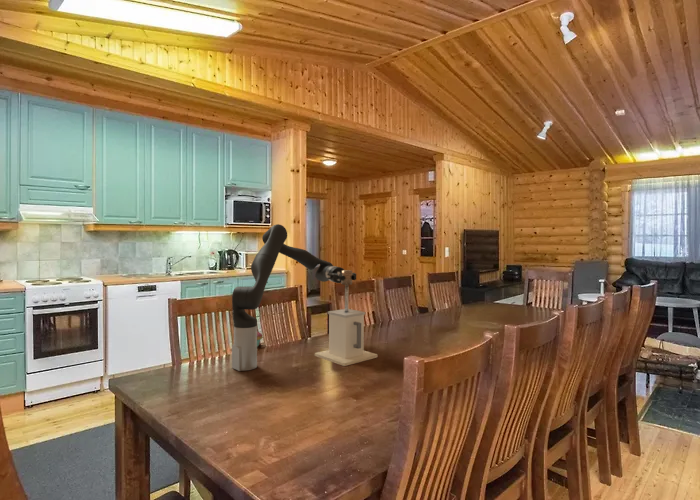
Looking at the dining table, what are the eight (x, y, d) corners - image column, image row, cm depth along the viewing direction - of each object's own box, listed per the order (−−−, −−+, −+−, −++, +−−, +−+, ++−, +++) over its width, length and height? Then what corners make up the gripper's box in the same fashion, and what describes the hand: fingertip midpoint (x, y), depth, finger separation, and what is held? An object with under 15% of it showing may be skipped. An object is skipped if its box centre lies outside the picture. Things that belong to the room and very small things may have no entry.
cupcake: (252, 349, 210) (252, 323, 209) (240, 346, 215) (240, 321, 214) (266, 345, 216) (266, 321, 216) (254, 342, 221) (254, 318, 221)
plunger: (345, 326, 192) (346, 272, 191) (332, 323, 198) (332, 270, 197) (360, 323, 198) (360, 270, 197) (347, 320, 204) (347, 269, 203)
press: (344, 366, 184) (344, 318, 184) (314, 355, 199) (315, 311, 198) (377, 357, 198) (378, 312, 197) (347, 348, 213) (348, 306, 212)
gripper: (321, 266, 207) (334, 269, 192) (349, 266, 213) (364, 269, 197) (321, 282, 208) (333, 287, 192) (349, 281, 213) (363, 285, 197)
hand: (349, 278), depth 195 cm, fingers closed on plunger, 4 cm apart
